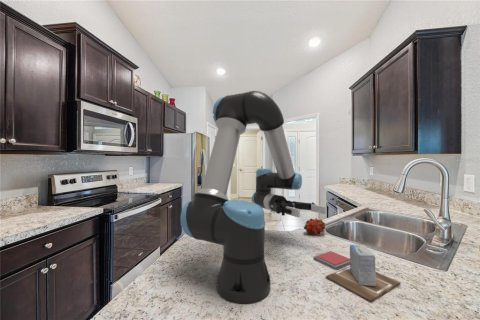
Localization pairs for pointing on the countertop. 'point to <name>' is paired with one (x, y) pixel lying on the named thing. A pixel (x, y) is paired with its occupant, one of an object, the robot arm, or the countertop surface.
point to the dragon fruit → (314, 226)
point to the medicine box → (362, 265)
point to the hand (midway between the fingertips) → (312, 211)
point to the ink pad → (332, 260)
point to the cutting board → (366, 292)
